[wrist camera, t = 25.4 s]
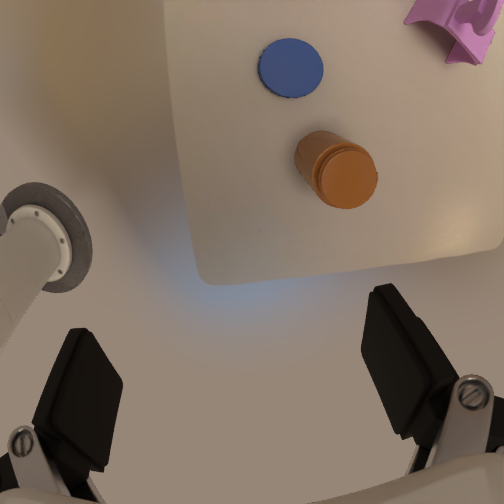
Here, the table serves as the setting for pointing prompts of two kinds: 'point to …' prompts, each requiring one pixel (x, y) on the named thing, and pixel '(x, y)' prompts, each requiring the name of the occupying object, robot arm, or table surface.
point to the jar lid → (290, 68)
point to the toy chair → (461, 24)
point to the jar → (336, 169)
